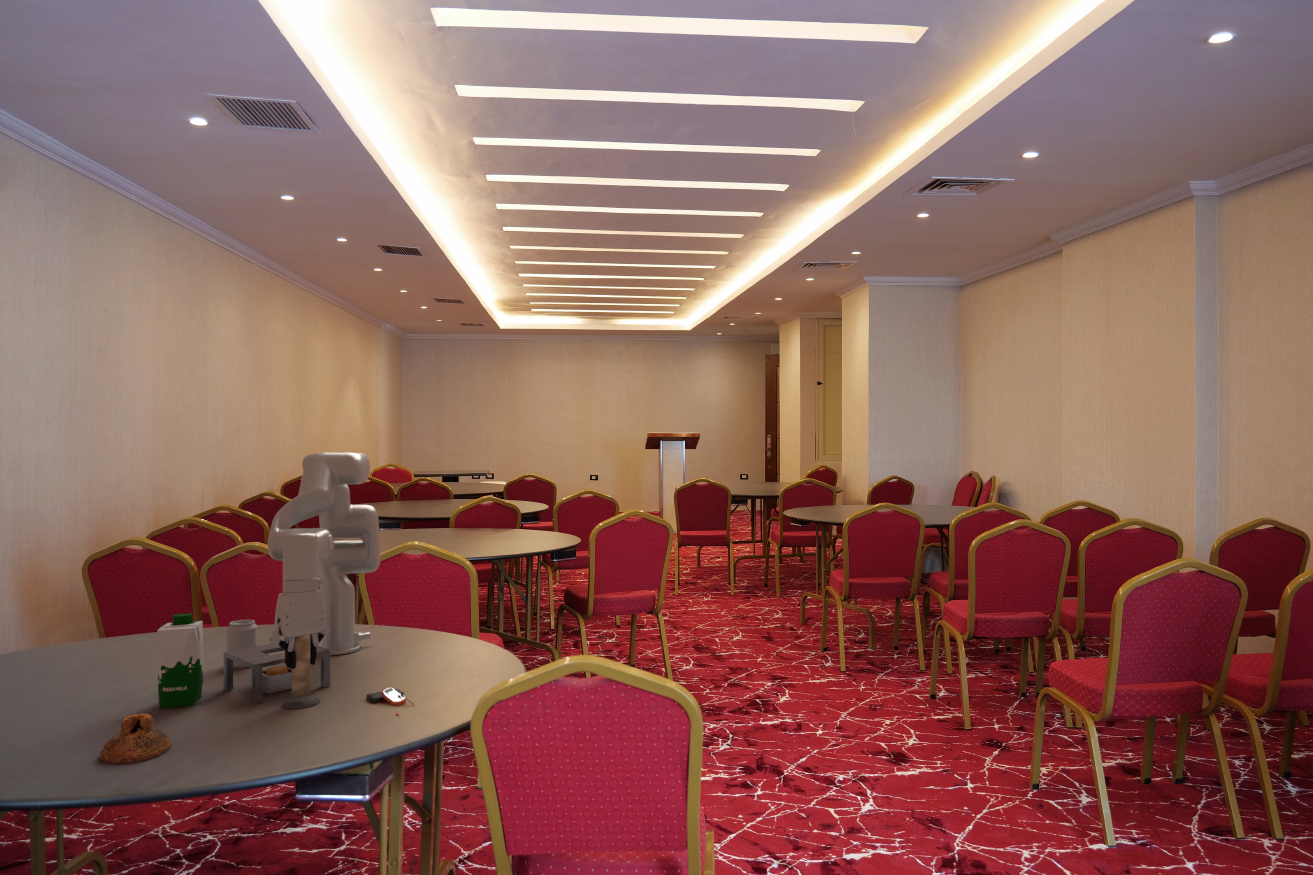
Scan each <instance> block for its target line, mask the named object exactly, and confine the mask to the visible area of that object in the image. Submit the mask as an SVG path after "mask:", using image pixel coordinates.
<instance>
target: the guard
mask: <svg viewBox="0 0 1313 875" xmlns="http://www.w3.org/2000/svg"><path fill="white" fill-rule="evenodd" d="M283 651H284V652H283ZM278 652H280V653H278ZM273 653H275V654H273ZM317 657H320V687H321V688H323V689H325V688H329V687H331V655H330V650H329V649H326V648H323V647H320V646H317ZM233 660H234V661H237V662H239V663H242V664H244V665H247V666H249V667H248V668H251V693H252V694H251V697H252V698H251V700H252V704H255V705H256V704H261V703H263V693H264V694H265V693H266V694H267V695H270V694H275V693H279V692H284V691H287V690H292V669H290V668H288V672H287V673H282V674H278V675H273V676H269V675H266V670H267V669H263V668H266V667H272V666H276V665H277V666H278V665H281V664H285V650H283V648H281V647H280V646H279V645H278V644H275V643H273V642H271V643H266V644H260V645H258V646H254V647H249V648H243V649H238V650H232V651H227V650H226V651H223V690H225V691H229V690H233V689H234V669H233ZM284 666H285V667H287V666H286V665H284Z"/></svg>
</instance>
